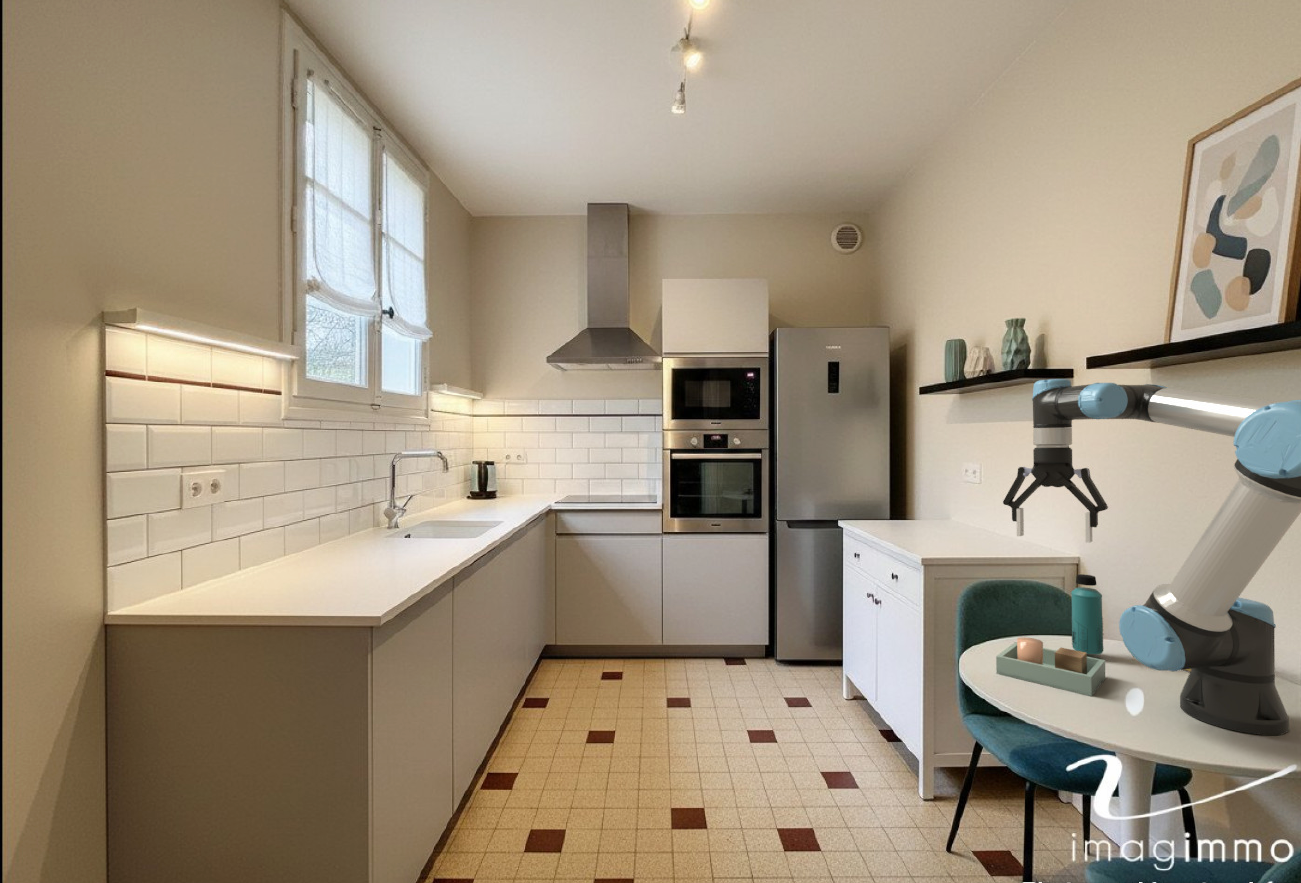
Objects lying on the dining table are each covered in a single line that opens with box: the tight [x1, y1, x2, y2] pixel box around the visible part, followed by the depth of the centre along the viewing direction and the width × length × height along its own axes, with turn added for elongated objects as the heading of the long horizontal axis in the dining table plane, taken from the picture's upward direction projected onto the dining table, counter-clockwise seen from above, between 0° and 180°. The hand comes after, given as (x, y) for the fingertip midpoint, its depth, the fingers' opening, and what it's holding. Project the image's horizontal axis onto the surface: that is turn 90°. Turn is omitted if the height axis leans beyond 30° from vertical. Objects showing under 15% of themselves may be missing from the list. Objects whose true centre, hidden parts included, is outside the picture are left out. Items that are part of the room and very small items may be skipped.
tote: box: [995, 641, 1106, 697], centre depth 140 cm, size 18×14×4 cm
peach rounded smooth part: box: [1016, 636, 1044, 665], centre depth 141 cm, size 5×5×7 cm
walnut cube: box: [1055, 647, 1088, 675], centre depth 139 cm, size 5×5×5 cm
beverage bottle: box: [1070, 573, 1104, 655], centre depth 152 cm, size 6×7×20 cm
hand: (1053, 538), depth 142 cm, fingers open, 13 cm apart
